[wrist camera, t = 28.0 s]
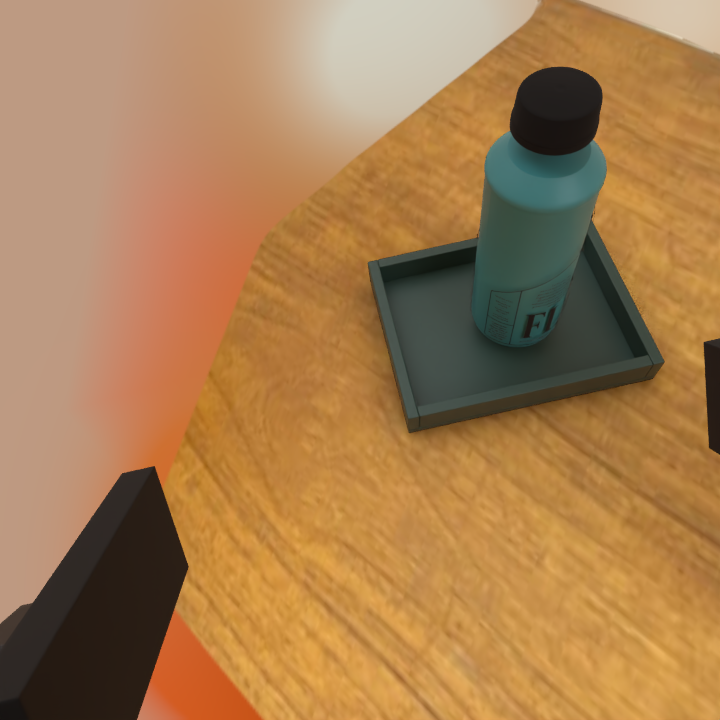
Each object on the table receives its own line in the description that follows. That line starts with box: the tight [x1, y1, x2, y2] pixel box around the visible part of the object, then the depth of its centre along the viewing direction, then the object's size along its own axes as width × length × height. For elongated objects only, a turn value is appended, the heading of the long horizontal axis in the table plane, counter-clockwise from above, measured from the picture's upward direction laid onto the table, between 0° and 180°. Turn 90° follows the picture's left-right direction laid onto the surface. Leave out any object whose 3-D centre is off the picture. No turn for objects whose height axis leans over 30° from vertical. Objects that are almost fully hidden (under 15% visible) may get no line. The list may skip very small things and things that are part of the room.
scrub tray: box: [368, 220, 664, 433], centre depth 44 cm, size 18×14×2 cm
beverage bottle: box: [469, 67, 607, 347], centre depth 36 cm, size 6×7×20 cm
